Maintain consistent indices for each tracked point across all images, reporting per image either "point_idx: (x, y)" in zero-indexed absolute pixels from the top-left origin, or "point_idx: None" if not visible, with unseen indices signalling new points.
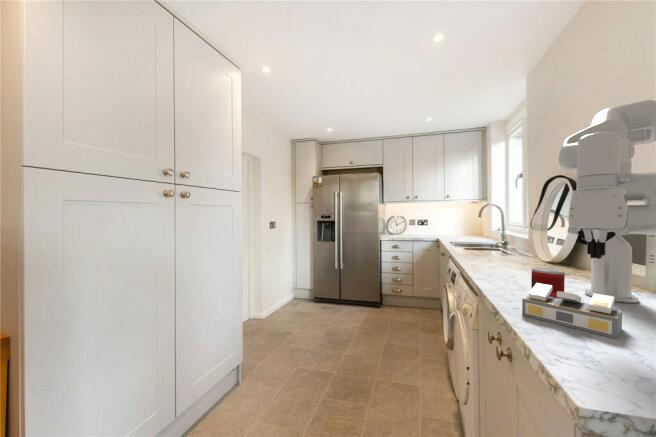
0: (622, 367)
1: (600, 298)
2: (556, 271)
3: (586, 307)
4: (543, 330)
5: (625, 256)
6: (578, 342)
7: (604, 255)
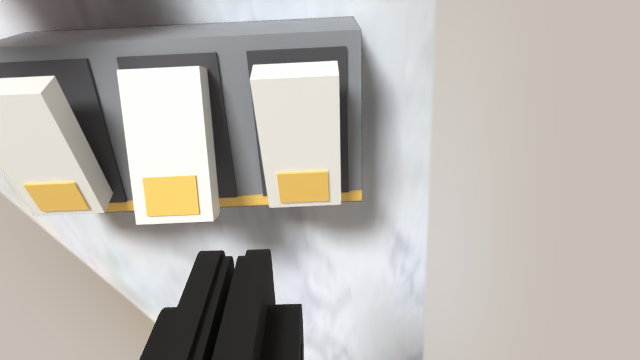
0: (382, 343)
1: (291, 130)
2: None
3: (247, 125)
4: None
5: None
6: (288, 281)
7: (302, 328)
